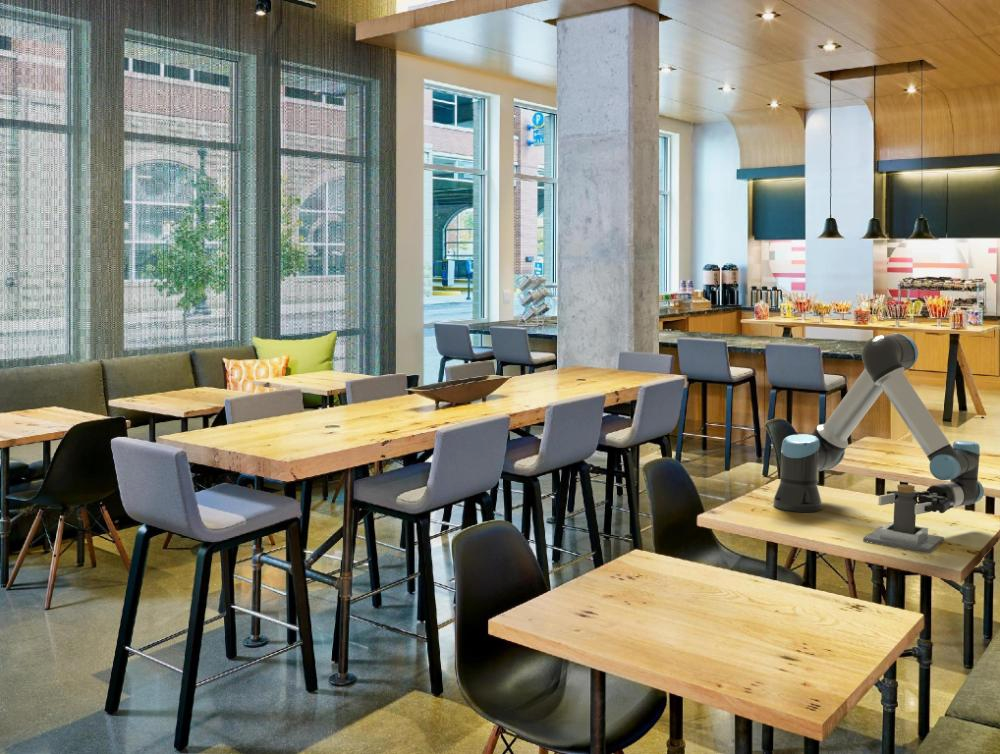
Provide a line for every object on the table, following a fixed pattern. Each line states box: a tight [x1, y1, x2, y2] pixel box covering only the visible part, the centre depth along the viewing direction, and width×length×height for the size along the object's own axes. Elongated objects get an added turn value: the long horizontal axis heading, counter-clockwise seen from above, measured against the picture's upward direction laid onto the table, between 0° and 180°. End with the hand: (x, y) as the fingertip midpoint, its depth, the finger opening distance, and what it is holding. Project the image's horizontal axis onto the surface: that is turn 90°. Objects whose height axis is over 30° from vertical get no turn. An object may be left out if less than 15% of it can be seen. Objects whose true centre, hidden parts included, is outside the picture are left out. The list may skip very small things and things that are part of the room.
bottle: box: [893, 483, 917, 534], centre depth 284 cm, size 6×6×15 cm
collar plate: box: [862, 521, 945, 554], centre depth 284 cm, size 18×16×4 cm
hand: (897, 505), depth 281 cm, fingers open, 11 cm apart
